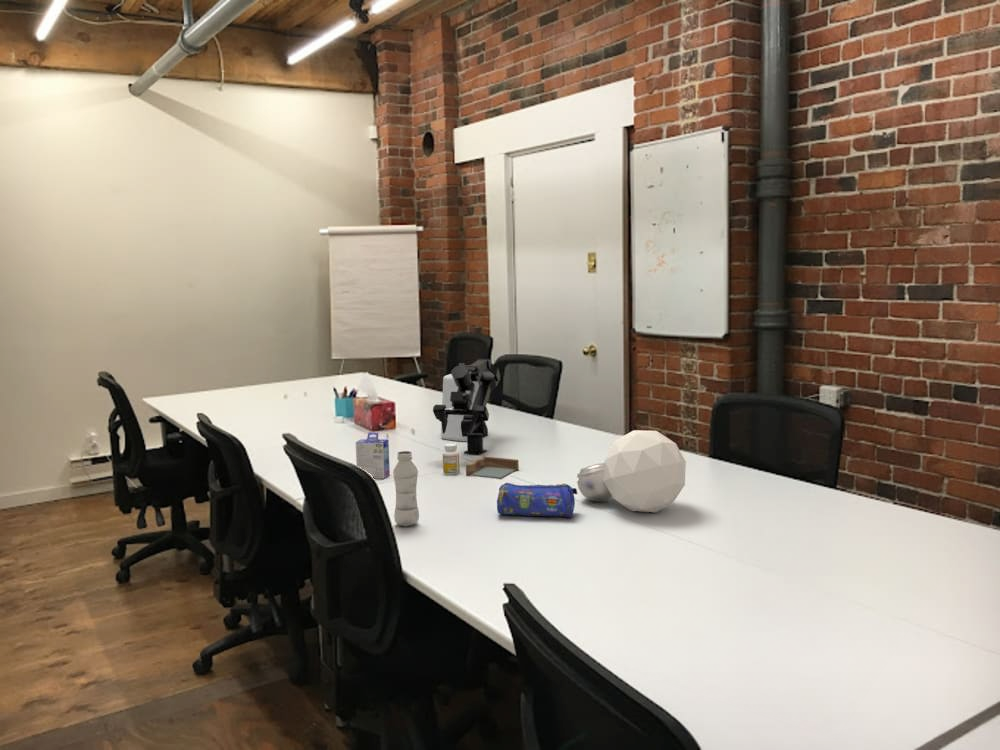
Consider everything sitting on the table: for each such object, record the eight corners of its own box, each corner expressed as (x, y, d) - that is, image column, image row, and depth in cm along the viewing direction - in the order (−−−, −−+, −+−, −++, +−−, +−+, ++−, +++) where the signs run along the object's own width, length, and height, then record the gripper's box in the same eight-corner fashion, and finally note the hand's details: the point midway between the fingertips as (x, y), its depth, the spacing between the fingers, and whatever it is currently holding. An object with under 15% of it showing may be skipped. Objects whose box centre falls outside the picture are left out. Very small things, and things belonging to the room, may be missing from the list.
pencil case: (577, 512, 238) (577, 479, 236) (575, 522, 229) (574, 487, 228) (500, 509, 242) (499, 477, 240) (494, 519, 233) (494, 485, 232)
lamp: (671, 510, 219) (648, 421, 223) (569, 532, 240) (550, 450, 244) (711, 499, 236) (689, 417, 240) (612, 521, 257) (594, 445, 261)
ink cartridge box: (390, 474, 282) (389, 432, 280) (385, 479, 276) (383, 435, 274) (362, 473, 284) (360, 431, 282) (356, 478, 278) (354, 434, 276)
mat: (485, 467, 288) (485, 466, 288) (515, 470, 284) (515, 469, 283) (470, 475, 278) (470, 474, 278) (501, 479, 274) (501, 477, 274)
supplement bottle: (450, 470, 286) (449, 442, 284) (462, 472, 283) (462, 443, 281) (440, 474, 281) (439, 445, 280) (452, 476, 278) (452, 447, 277)
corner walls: (483, 466, 290) (483, 456, 290) (518, 469, 285) (518, 459, 284) (466, 475, 279) (465, 465, 278) (501, 479, 273) (501, 468, 273)
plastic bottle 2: (490, 435, 338) (488, 365, 334) (468, 443, 326) (466, 370, 322) (459, 432, 346) (457, 363, 342) (436, 439, 334) (434, 368, 330)
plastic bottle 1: (394, 521, 232) (392, 450, 229) (419, 520, 233) (417, 449, 230) (394, 529, 226) (391, 456, 223) (419, 528, 226) (417, 455, 224)
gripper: (433, 381, 292) (424, 419, 283) (486, 382, 288) (478, 420, 279) (441, 400, 301) (432, 437, 292) (492, 401, 296) (485, 439, 287)
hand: (456, 433), depth 287 cm, fingers open, 9 cm apart
